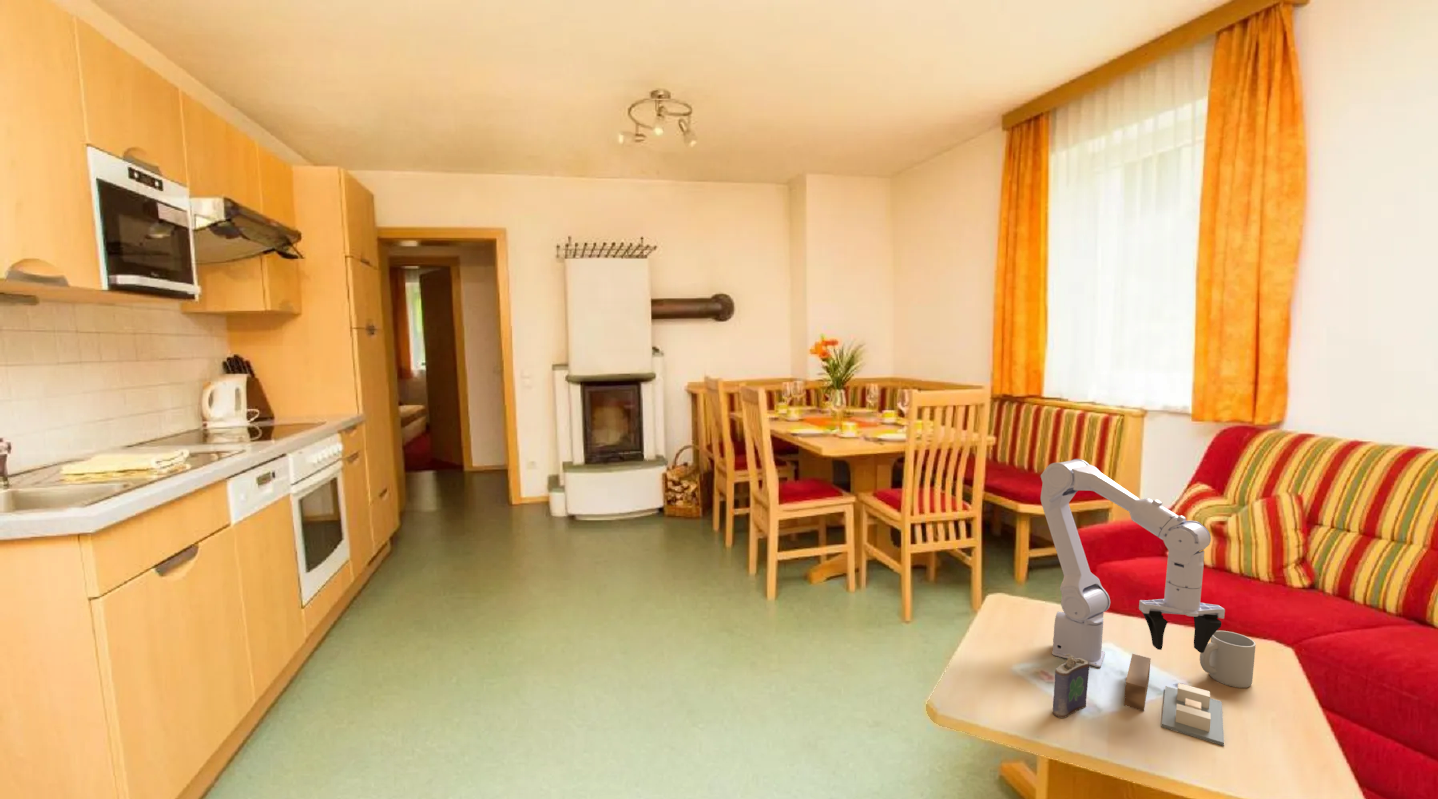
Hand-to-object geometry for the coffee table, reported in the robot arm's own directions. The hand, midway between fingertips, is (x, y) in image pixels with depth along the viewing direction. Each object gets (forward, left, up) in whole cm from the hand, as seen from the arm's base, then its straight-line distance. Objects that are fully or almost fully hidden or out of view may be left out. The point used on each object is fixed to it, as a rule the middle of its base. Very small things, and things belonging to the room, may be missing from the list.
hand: (1177, 648), depth 126 cm
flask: (-16, -19, -10) cm, 26 cm away
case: (-6, -4, -10) cm, 12 cm away
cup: (+8, +13, -10) cm, 18 cm away
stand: (+3, -7, -10) cm, 12 cm away
